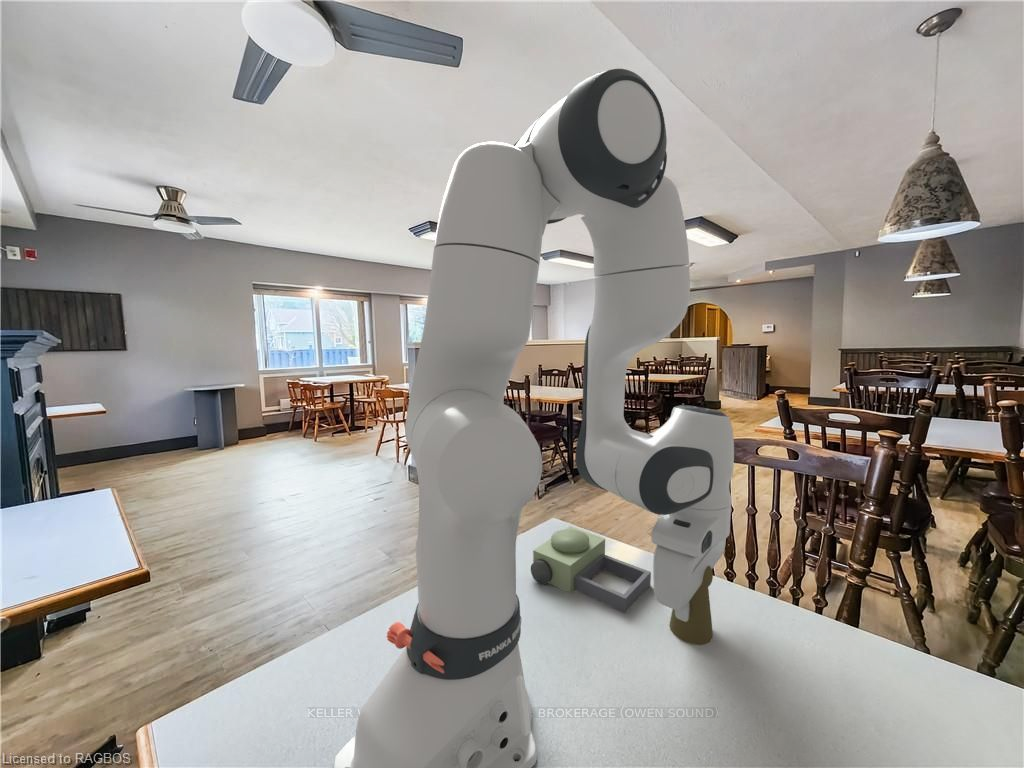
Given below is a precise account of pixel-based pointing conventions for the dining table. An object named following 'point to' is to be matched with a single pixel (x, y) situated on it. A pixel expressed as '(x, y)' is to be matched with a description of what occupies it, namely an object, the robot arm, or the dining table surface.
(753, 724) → the dining table surface
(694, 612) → the brown knobbed peg
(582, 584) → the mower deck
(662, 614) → the dining table surface
